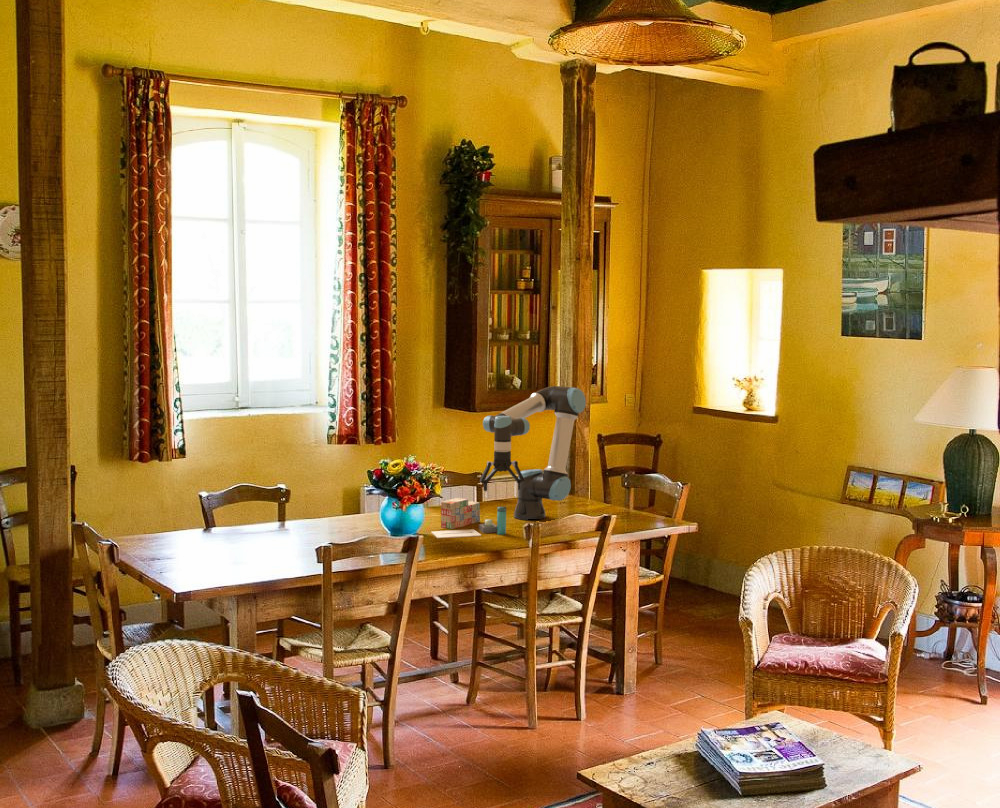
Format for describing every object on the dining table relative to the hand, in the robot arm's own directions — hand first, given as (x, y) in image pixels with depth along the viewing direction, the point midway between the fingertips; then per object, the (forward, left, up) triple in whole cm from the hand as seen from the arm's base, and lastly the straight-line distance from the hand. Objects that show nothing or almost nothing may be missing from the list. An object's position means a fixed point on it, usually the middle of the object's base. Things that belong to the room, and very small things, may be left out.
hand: (501, 497), depth 496 cm
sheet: (+20, -4, -16) cm, 26 cm away
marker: (0, 0, -16) cm, 17 cm away
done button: (+4, -7, -15) cm, 17 cm away
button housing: (+4, -7, -16) cm, 18 cm away
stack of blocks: (+12, -23, -17) cm, 31 cm away
